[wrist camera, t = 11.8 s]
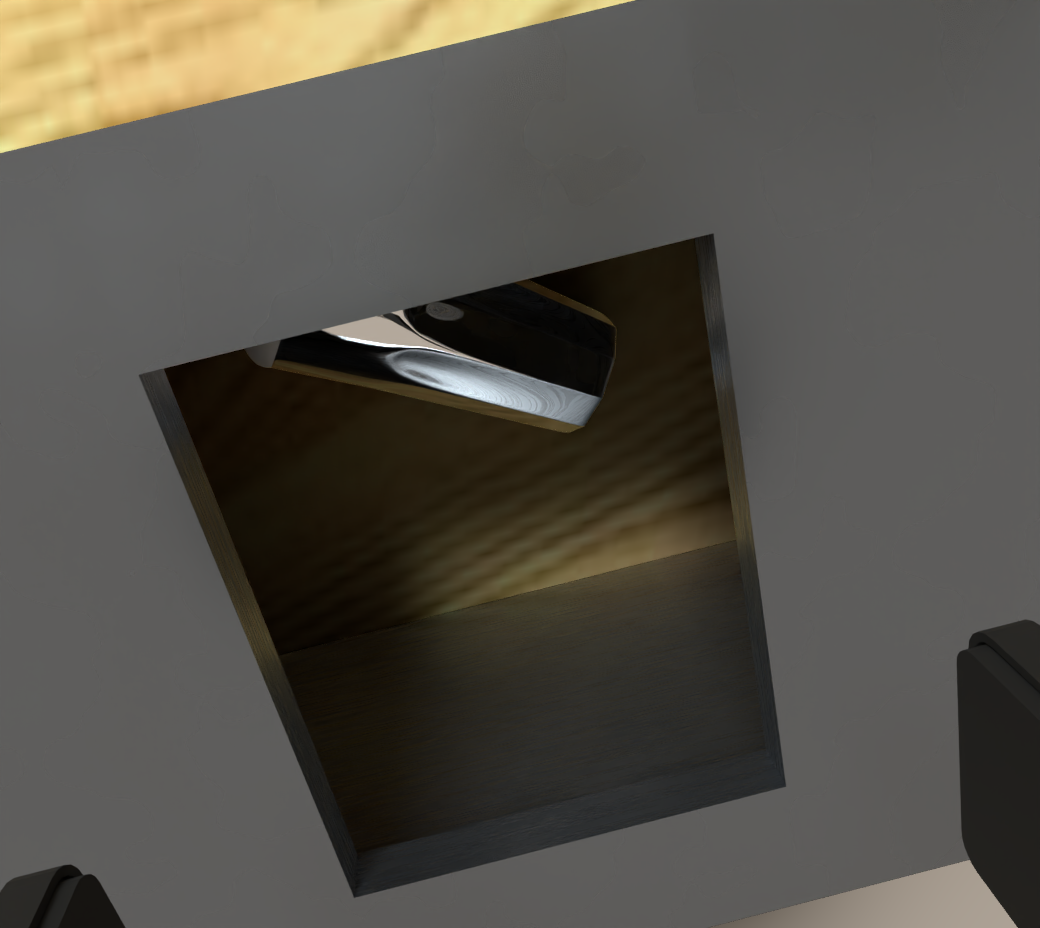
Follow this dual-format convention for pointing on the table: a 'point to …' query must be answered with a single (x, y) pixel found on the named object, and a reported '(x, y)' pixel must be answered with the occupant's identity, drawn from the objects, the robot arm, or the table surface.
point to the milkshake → (470, 354)
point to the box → (570, 606)
